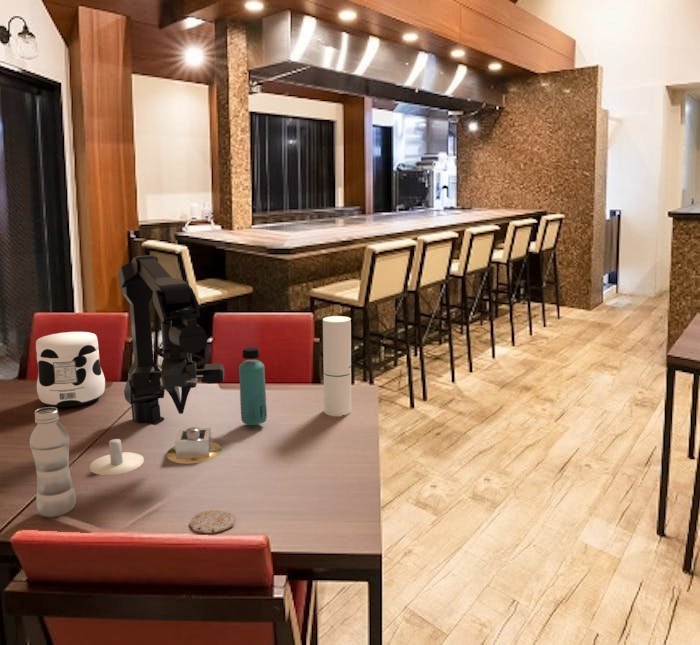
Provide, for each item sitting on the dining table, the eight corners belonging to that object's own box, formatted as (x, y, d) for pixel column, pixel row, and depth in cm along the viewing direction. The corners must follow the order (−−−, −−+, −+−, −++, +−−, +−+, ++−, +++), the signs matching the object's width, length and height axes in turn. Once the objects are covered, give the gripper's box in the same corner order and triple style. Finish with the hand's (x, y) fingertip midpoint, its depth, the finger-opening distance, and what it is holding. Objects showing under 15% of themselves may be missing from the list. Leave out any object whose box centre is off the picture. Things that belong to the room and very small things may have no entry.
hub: (155, 460, 139) (152, 434, 138) (191, 440, 149) (190, 416, 148) (198, 471, 134) (196, 444, 132) (232, 449, 144) (231, 424, 143)
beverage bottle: (262, 431, 154) (259, 352, 150) (236, 429, 156) (233, 351, 151) (271, 421, 161) (268, 345, 156) (246, 420, 162) (242, 344, 157)
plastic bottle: (45, 504, 120) (33, 404, 116) (82, 503, 121) (71, 403, 116) (31, 522, 114) (18, 417, 109) (70, 521, 114) (59, 416, 110)
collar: (176, 459, 137) (175, 442, 137) (180, 446, 144) (178, 429, 143) (209, 457, 138) (208, 440, 138) (211, 444, 145) (210, 427, 144)
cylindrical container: (354, 408, 170) (354, 317, 164) (345, 417, 163) (345, 322, 158) (329, 405, 172) (328, 315, 166) (320, 414, 165) (318, 321, 160)
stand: (78, 471, 134) (75, 446, 132) (118, 452, 143) (115, 428, 142) (116, 482, 129) (113, 456, 127) (155, 461, 138) (153, 436, 137)
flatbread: (183, 533, 111) (182, 528, 110) (200, 511, 118) (200, 506, 118) (227, 537, 109) (227, 532, 109) (242, 515, 117) (242, 510, 116)
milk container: (83, 386, 188) (77, 328, 184) (119, 398, 178) (113, 336, 175) (26, 403, 175) (18, 340, 171) (61, 416, 165) (53, 349, 161)
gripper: (122, 355, 124) (128, 430, 127) (219, 351, 126) (223, 424, 130) (133, 340, 134) (138, 410, 138) (222, 337, 137) (226, 405, 140)
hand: (181, 413), depth 136 cm, fingers closed
